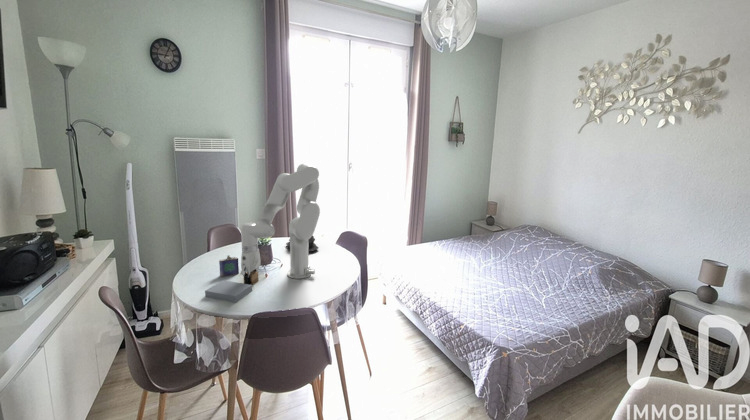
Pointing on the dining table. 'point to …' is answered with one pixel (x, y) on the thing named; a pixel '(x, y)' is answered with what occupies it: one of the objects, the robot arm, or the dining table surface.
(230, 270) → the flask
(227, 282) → the block
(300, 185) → the robot arm
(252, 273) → the walnut cube
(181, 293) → the dining table surface
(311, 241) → the casserole
